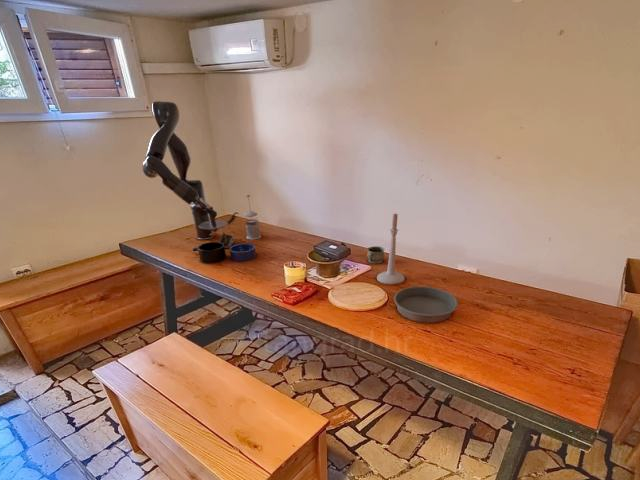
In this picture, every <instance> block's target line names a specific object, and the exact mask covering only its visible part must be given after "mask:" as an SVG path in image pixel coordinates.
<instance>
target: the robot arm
mask: <svg viewBox="0 0 640 480" xmlns="http://www.w3.org/2000/svg"><path fill="white" fill-rule="evenodd" d="M151 111H152V114H153V117H154V120H155V122H156V124H157V126H158V128H159V129H158V130H157V131H155V133H154V134H153V135H152V137H151V139H150V142H149V145H148V149H147V153H146V155H145V158H144V160H143V163H142V172H143V174H144V175H145V176H146V177H147V178H149V179H154V178H157V177H158V176H159V177H160V179H161V183H162V185H163V186H164V187H166V188H167V189H168V190H170V191H171V192H172V193H174V194H175V195H176V196H177V197H178V198H179V199H181V200H182V201H183V202H185V203H187V205H190V210H191V215H192V219H193V224H194V229H195V231H196V232H195V233H196V238H197V239H198V240H200V241H204V240H205V241H207V240H210V239H213V238H214V235H213V232H216V231H217V229H212V230H207V229H201V228H199V224H201V223H203V222H207V221H210V218H209V214H210V215H211V216H212V217H214V218H215V219H216V217H217V216H218V212H217V211H216V210H214V209H213V211H214V212H213V211H212V210H211V209H210V208H208V207H211V206H210V205H211V204H209V203H207V199H206V194H205V187H204V184H203V181H202V180H200V179H192V180H191V179H188V172H189V169H190V167H191V162H192V161H191V160H192V158H191V155H190V152H189V150H188V149H189V148H188V147H187V145H186V143H185V142H184V141H183V140H182V138H180V137H179V136H178V135H177V134H176V133H175V130H176V128H177V126H178V124H179V121H180V116H181V115H180V114H181V113H180V110H179V107H178V105H177V104H176V103H175V102H172V101H166V100H165V101H162V100H155V101H153V102H152V105H151ZM167 149H168V152H169V154H170V157H171V159H172V161H173V164H174V166H175V168H176V171H177V174H178V176H179V177H178V176H177V175H176V174H174V173H173V172H172V171H171V169H170V168H169V167H168V166H167V165H166V163H164V162H163V160H164V158H165V155H166V152H167ZM236 214H237V215H238V214H239V213H238V212H234V213H233V214H232V215H231V218H230V219H229V220H228V221H227V222H228V224H229V223H231V221H232V220H233V218H234V217H235V215H236Z"/></svg>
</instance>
